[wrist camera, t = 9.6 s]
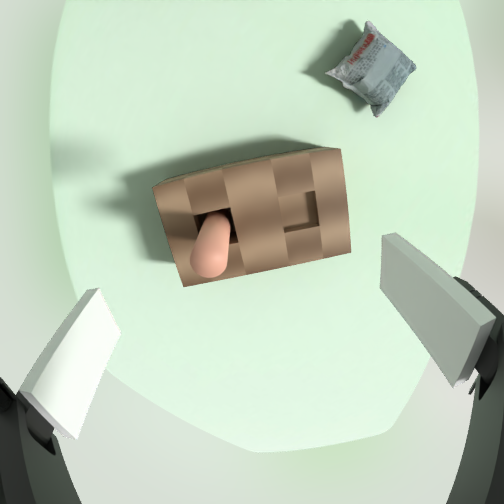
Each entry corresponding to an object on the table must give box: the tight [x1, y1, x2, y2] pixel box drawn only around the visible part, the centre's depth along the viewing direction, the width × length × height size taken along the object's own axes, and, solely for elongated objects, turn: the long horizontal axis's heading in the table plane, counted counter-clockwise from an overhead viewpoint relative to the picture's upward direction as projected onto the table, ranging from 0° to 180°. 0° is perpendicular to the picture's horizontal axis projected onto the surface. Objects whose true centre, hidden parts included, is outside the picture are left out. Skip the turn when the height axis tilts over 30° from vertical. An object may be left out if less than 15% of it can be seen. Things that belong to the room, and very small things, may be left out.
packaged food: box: [325, 21, 416, 117], centre depth 26 cm, size 9×12×5 cm
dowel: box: [190, 208, 231, 278], centre depth 27 cm, size 3×3×12 cm
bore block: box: [152, 147, 351, 287], centre depth 32 cm, size 12×20×6 cm, turn 102°
